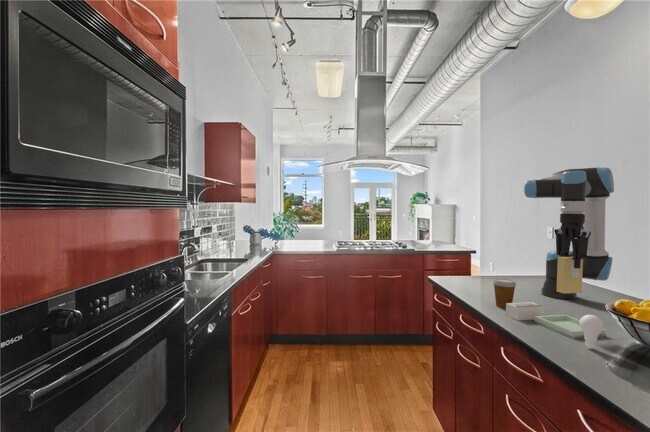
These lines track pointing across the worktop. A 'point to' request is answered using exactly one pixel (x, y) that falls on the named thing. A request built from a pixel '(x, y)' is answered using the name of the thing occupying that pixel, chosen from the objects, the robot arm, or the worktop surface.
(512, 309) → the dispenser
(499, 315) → the worktop surface
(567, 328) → the tray
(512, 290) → the disposable coffee cup
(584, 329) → the lightbulb
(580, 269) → the pale yellow tall box
